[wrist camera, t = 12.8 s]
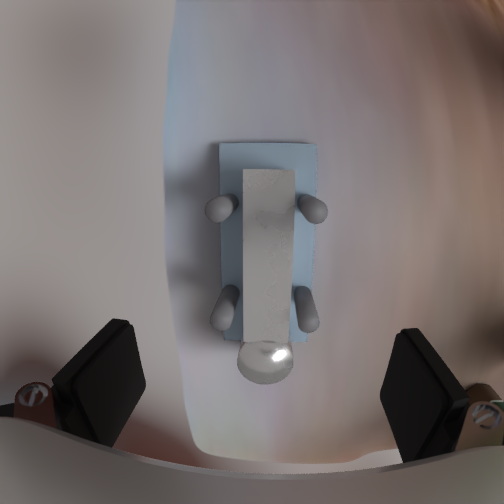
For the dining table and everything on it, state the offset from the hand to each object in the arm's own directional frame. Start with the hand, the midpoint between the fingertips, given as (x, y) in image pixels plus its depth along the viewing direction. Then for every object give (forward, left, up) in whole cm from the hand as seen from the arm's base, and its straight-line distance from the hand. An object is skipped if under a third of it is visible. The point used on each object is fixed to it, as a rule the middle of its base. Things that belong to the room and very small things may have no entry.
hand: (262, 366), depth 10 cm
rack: (0, 0, -18) cm, 18 cm away
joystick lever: (+1, +2, -16) cm, 16 cm away
